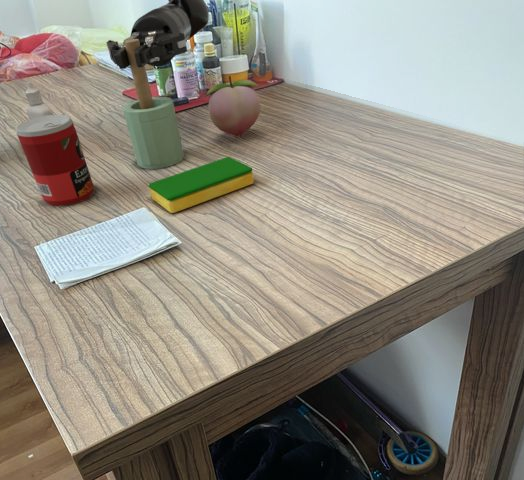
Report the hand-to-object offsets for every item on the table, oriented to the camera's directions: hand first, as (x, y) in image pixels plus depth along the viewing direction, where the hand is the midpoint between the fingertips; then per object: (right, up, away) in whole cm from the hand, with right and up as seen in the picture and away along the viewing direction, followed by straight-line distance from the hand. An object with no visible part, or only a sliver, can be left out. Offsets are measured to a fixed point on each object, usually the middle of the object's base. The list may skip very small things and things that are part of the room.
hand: (129, 60), depth 75 cm
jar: (+2, -10, +13) cm, 16 cm away
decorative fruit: (+15, -4, +18) cm, 24 cm away
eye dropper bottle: (-20, -5, +22) cm, 31 cm away
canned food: (-10, -19, +5) cm, 22 cm away
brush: (+2, -9, +11) cm, 14 cm away
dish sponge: (+11, -19, +1) cm, 22 cm away
